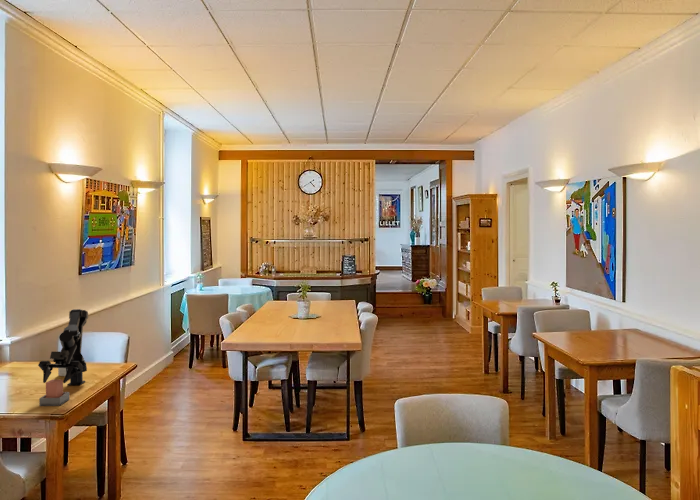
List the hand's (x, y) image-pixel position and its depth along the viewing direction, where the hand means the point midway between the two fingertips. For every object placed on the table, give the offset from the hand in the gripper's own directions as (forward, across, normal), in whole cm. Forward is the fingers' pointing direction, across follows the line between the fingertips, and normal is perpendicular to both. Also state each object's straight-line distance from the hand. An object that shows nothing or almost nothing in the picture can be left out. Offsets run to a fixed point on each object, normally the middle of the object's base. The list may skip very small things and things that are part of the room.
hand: (53, 382), depth 241 cm
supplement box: (-26, -20, +40) cm, 52 cm away
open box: (+6, 0, +7) cm, 9 cm away
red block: (+6, 0, +6) cm, 8 cm away
